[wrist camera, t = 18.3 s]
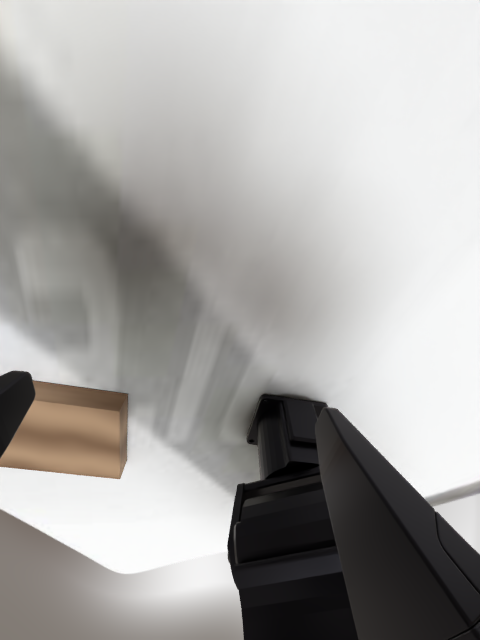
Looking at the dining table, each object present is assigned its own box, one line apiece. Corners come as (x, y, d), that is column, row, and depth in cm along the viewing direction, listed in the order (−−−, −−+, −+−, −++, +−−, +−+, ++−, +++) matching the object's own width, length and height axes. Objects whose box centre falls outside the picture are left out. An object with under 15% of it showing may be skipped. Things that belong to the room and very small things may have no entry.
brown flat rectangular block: (126, 460, 30) (119, 479, 28) (-81, 437, 27) (-102, 455, 26) (127, 394, 25) (119, 411, 23) (-125, 358, 22) (-155, 375, 21)
